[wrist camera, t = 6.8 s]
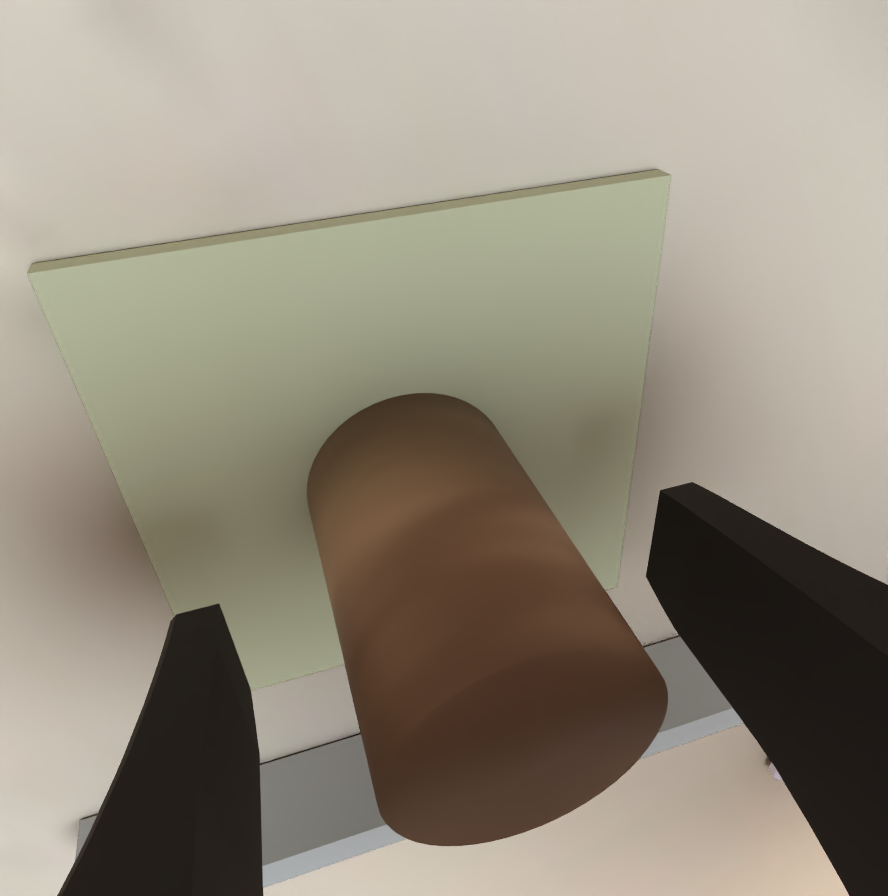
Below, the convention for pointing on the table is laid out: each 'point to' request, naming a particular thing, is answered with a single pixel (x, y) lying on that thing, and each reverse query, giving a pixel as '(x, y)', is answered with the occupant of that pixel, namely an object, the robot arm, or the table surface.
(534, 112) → the table surface
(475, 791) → the walnut cylinder
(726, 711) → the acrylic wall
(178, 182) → the table surface
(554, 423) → the resting mat
